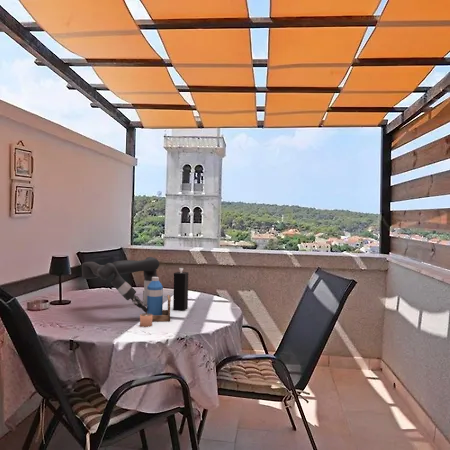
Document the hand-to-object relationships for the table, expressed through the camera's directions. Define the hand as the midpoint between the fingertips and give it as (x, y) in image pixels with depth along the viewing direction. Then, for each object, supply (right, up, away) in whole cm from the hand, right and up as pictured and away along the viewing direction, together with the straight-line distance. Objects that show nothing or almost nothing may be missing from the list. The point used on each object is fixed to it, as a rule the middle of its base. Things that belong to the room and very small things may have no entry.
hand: (146, 310), depth 258 cm
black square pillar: (+18, -5, +28) cm, 33 cm away
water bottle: (+4, -5, +3) cm, 7 cm away
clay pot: (+2, -5, -14) cm, 15 cm away
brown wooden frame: (+6, -5, +2) cm, 8 cm away
